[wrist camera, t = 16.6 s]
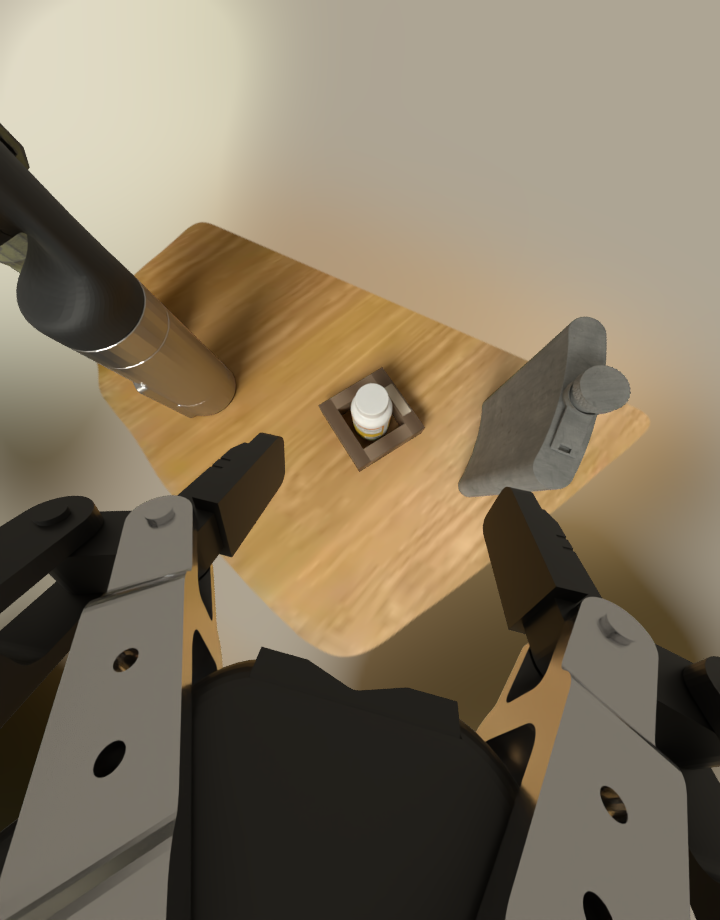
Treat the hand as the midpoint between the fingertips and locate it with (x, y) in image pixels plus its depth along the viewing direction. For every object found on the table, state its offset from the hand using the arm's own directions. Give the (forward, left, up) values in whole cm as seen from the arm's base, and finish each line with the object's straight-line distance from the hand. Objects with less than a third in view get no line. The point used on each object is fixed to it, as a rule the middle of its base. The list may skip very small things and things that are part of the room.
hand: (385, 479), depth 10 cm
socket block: (+6, +10, -29) cm, 31 cm away
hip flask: (+18, -2, -29) cm, 34 cm away
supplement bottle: (+6, +10, -29) cm, 31 cm away
